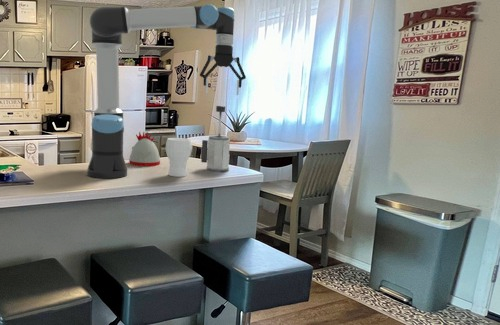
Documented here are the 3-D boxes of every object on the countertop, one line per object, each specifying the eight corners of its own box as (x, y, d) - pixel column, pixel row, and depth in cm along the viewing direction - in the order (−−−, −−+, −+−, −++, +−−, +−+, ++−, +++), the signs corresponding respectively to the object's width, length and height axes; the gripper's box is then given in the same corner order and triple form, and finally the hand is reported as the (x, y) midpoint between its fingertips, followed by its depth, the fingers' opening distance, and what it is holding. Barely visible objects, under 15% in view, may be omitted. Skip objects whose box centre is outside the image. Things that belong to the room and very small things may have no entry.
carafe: (200, 170, 197) (201, 137, 194) (201, 166, 207) (203, 134, 204) (228, 172, 197) (230, 138, 195) (228, 168, 207) (230, 136, 205)
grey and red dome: (130, 160, 211) (131, 129, 208) (160, 161, 213) (161, 130, 211) (128, 166, 197) (128, 132, 195) (159, 166, 200) (160, 133, 197)
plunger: (211, 149, 197) (213, 106, 194) (211, 147, 203) (214, 105, 200) (225, 149, 197) (227, 107, 194) (225, 147, 204) (228, 106, 200)
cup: (185, 178, 178) (186, 141, 176) (160, 175, 180) (161, 139, 178) (194, 173, 189) (195, 138, 186) (170, 171, 191) (171, 136, 188)
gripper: (194, 42, 188) (193, 92, 192) (253, 46, 190) (250, 96, 193) (196, 44, 196) (194, 92, 199) (252, 47, 197) (249, 95, 201)
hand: (222, 94), depth 196 cm, fingers open, 13 cm apart
